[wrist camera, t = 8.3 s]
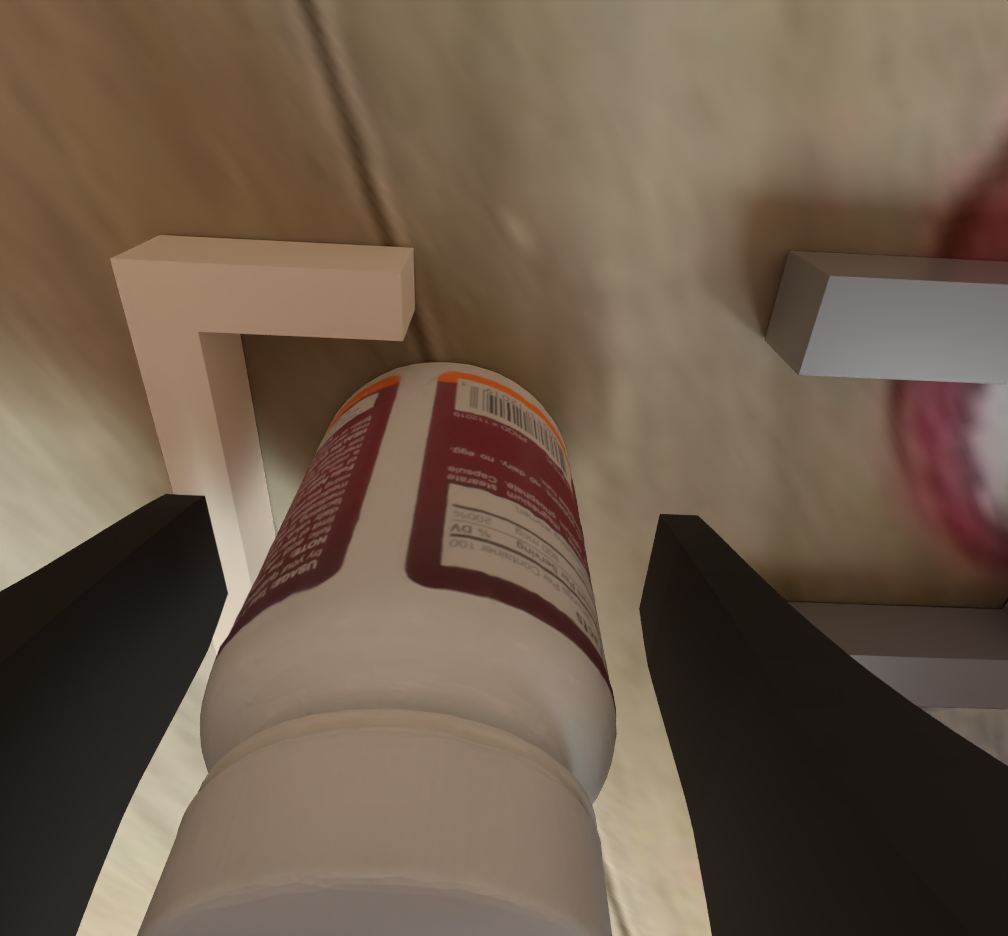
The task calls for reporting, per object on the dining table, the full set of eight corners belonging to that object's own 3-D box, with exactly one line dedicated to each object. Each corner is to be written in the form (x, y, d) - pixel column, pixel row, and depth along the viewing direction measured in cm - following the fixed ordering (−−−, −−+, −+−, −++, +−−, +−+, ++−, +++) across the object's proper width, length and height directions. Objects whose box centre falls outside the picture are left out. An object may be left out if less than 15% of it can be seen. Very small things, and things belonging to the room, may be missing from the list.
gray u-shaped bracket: (1372, 280, 10) (1493, 308, 9) (1084, 659, 15) (1137, 713, 14) (789, 250, 10) (829, 275, 9) (680, 645, 15) (697, 699, 14)
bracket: (413, 247, 10) (400, 273, 9) (422, 629, 15) (415, 682, 13) (160, 235, 10) (109, 259, 9) (247, 623, 15) (222, 676, 13)
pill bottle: (363, 576, 14) (216, 1110, 7) (291, 376, 11) (-64, 884, 4) (582, 549, 13) (671, 1086, 6) (556, 335, 11) (654, 820, 4)
